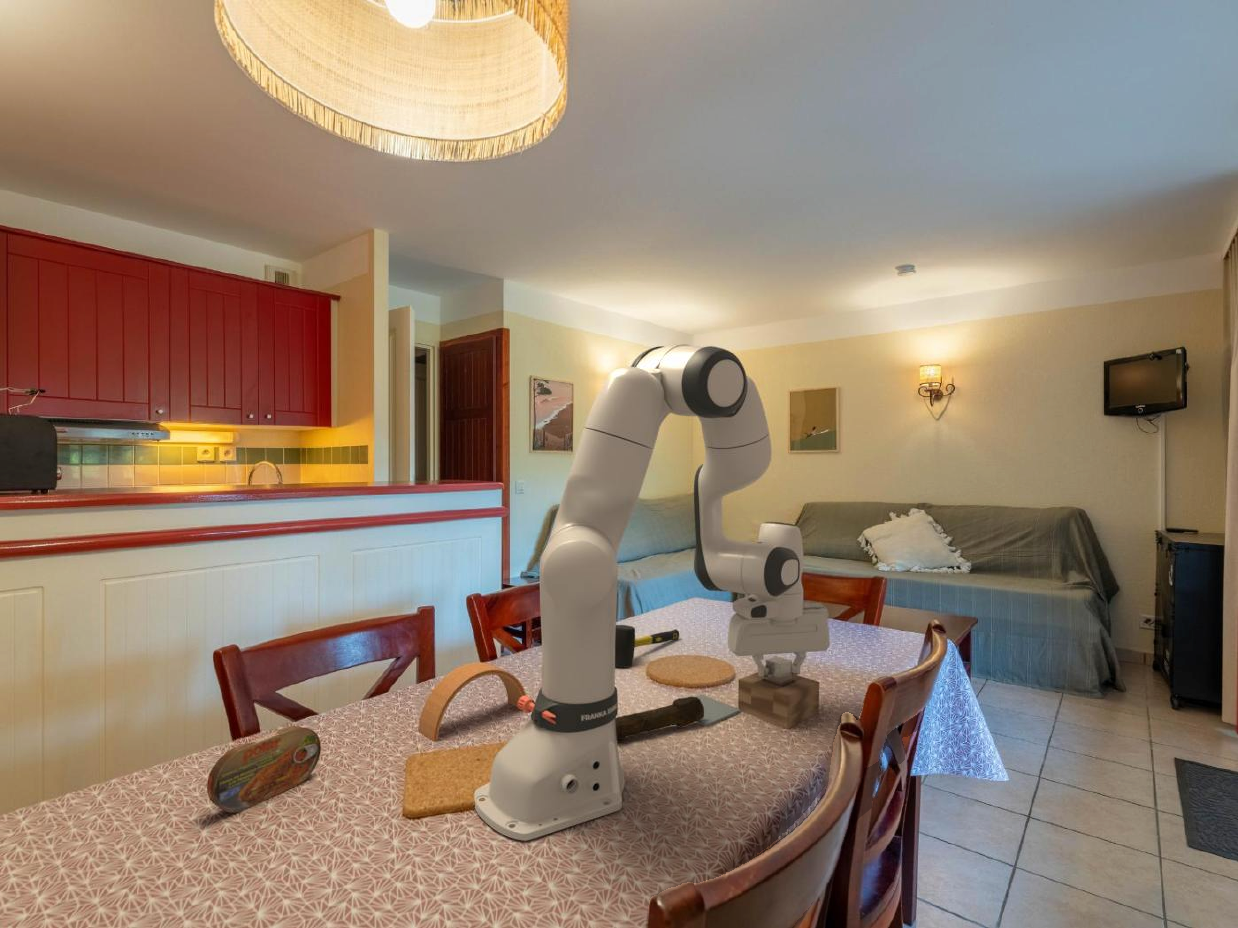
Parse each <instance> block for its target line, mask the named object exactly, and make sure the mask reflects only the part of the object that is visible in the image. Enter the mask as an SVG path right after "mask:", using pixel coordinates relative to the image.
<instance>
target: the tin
mask: <svg viewBox="0 0 1238 928" xmlns="http://www.w3.org/2000/svg"><path fill="white" fill-rule="evenodd" d="M321 745H322V744H321V740H320V737H319V735H318V733H316V731H314V730H312V729H311V728H309V727H302V726H298V725H296V726H295V725H292V726H286V727H284V728H282V729H279V730H276V731H274V732H271V733H269V734H266V735H263V736H262V737H258V738H255V739H253V740H250V741H248V742H245V743H243V744H240V745H237V746H235V747H233V748H231V749H229V750H228V751H226V752H225V753H224V754H223V755H221V756H220V757H219V759H218V760H217V761H216V762H214V765H213V766H212V767H211V770H210V772H209V775H208V777H207V778H208V779H207V784H206V786H207V787H206V789H207V790H206V792H207V796H208V797H209V800H210V801H211V803H212V804H214V805H215V806H216V807H218V808H219V809H221V810H222V811H224V812H227V813H234V814H235V813H240V812H244V811H247V810H249V809H251V808H252V806H253V807H254V805H255V806H257V805H259V804H261V803H263V802H265V801H268V800H269V799H271V797H272V798H274V797H276V796H277V795H280V794H282V793H284V792H286V791H289V790H291V789H293V788H295V787H296V786H298V785H301V784H302V783H304V781H305V780H307V779H308V778H309V777H310V775H311V774H312V773H313V772H314V770H315V769H316V767H317V765H318V762H319V759H320V756H321V751H322V746H321ZM258 803H259V804H258ZM256 804H257V805H256ZM248 808H249V809H248Z"/></svg>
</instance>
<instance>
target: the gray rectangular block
mask: <svg viewBox="0 0 1238 928" xmlns="http://www.w3.org/2000/svg"><path fill="white" fill-rule="evenodd" d="M792 663H793V660H791V659H787V658H784V657H781V656H777V655H776V656H773V657H770V658H767V659H765V666H766V667H767V668H769V672H768V677H766V682H768V683H771V684H774V685H777V686H780V687H785V686H787V685H789V684H792Z"/></svg>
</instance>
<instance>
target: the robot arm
mask: <svg viewBox="0 0 1238 928" xmlns="http://www.w3.org/2000/svg"><path fill="white" fill-rule="evenodd" d="M588 413H589V414H588V415H587V417H586V420H585V421H586V422H585V423H584V428H583V430H582V433H581V435H580V438H579V439H580V440H579V442H578V445H577V449H576V451H575V455H574V458H573V461H572V465H571V468H570V470H569V473H568V477H567V481H566V484H565V487H564V490H563V493H562V497H561V499H560V502H559V503H560V504H559V507H558V510H557V513H556V516H555V519H554V523H553V526H552V529H551V533H550V535H549V539H548V541H547V544H546V546H545V548H544V550H543V552H542V554H541V557H540V561H539V605H540V606H539V609H540V610H539V611H540V628H541V688H540V689H539V691H538V693H537V696H536V698H535V700H534V699H532V698H530V697H528V695H526V696H522V697H520V700H519V701H518V702H519V703H518V704H517V705H519V706H518V708H517V709H519V710H521V711H524V713H526V714H530V713H531V714H530V719H529V720H528V721H527V722H526V723H525V724H524V725H523V726H522V727H521V728H520V729H519V731H518V732H517V733H515V735H514V736H513V737H512V738H511V739H510V740H509V741H508V742H507V743H506V744H505V745H504V746H503V747H502V749H500V750H499V751H498V753H496V755H495V757H494V760H493V763H492V766H491V773H490V778H489V782H487V783H485V784H483V785H482V786H480V787H478V788H476V790H475V791H474V794H473V802H474V801H475V807H474V809H475V812H476V813H477V814H478V816H479V817H480V818H481V819H482V820H483V821H484V822H485V823H486V824H487V825H488V826H489V827H491V828H492V829H493V830H494V831H496V832H498V833H500V834H501V835H503V836H506V837H508V838H510V839H514V840H518V841H526V842H527V841H531V840H534V839H536V838H540V837H543V836H546V835H548V834H549V835H550V834H551V833H555V832H558V831H560V830H564V829H566V828H567V829H568V828H569V827H574V826H576V825H579V824H582V823H585V822H587V821H591V820H594V819H597V818H599V817H600V818H601V817H603V816H606V815H609V814H612V813H616V812H618V811H620V810H621V809H622V808H623V798H622V793H623V792H624V789H625V786H626V779H625V776H624V773H623V769H622V765H621V759H620V754H619V753H620V752H619V748H618V747H619V746H618V741H617V737H616V723H615V718H617V717H618V713H619V711H618V709H619V703H618V701H619V699H618V698H619V696H618V688H617V687H616V686H615V685H616V666H615V633H616V625H617V607H618V606H617V605H618V579H619V578H618V573H619V569H618V567H619V565H618V559H617V555H618V551H619V548H620V546H621V543H622V540H623V537H624V535H625V532H626V530H627V526H628V524H629V521H630V518H631V517H632V514H633V512H634V509H635V508H636V504H637V502H638V500H639V497H640V494H641V490H642V487H643V484H644V481H645V478H646V474H647V471H648V470H649V469H648V468H649V465H650V462H651V459H652V456H653V453H654V450H655V446H656V443H657V439H658V436H659V431H660V427H661V425H663V422H664V420H665V419H666V418H667V417H668V415H669V414H673V415H676V416H682V417H697V418H698V420H699V421H700V424H701V431H702V432H701V433H702V438H703V444H704V451H705V454H704V460H703V461H704V462H703V463H702V464H701V465H700V466H698V468H697V469H696V472H695V474H694V479H693V480H694V481H693V512H694V532H695V550H694V559H693V570H694V574H695V576H696V578H697V580H698V581H699V583H700V584H701V585H702V586H703V588H704V589H705V590H707V591H709V592H710V591H713V592H729V593H730V592H732V593H736V594H744V595H746V596H744V597H741V598H739V599H736V600H734V601H733V602H732V610H733V611H734V612H735V613H734V614H733V615H732V616H731V618H730V620H729V624H728V634H727V646H728V649H729V650H730V652H732V654H734V655H735V656H737V657H745V656H746V657H747V656H749V657H750V656H751V658H752V659H753V661H754V663H755V664H756V666H757V672H758V675H759V676H760V677H768V672H769V668H767V667H766V664H763V662H762V661H763V660H764V656H766V655H779V654H793V653H794V655H795V657H794V660H793V661H792V675H798V676H800V675H801V667H802V665H803V663H804V662H805V659H807V653H812V652H826V651H827V650H828V648H829V647H830V645H831V644H830V643H831V642H830V640H831V639H830V630H829V625H828V624H829V623H828V621H829V610H828V609H827V607H826V606H825V605H823V604H822V603H821V602H812V603H808V602H805V603H804V586H803V584H802V575H803V572H804V547H803V537H802V533H801V532H802V531H801V529H800V527H798V526H797V525H795V524H793V523H789V522H787V523H786V522H779V521H765V522H763V523H761V524H760V527H759V534H758V540H756V541H755V542H751V541H740V540H732V539H730V538H728V537H727V536H725V535H724V533H723V510H722V509H723V505H722V503H723V502H722V501H723V497H724V496H726V495H729V494H731V493H735V492H737V491H739V490H743V489H744V488H747V487H749V486H751V485H752V484H754V483H755V482H757V481H759V480H760V478H762V476H763V475H765V473H766V472H767V470H768V469H769V467H770V464H771V461H772V453H773V452H772V441H771V437H770V435H771V434H770V430H769V425H768V419H767V416H766V412H765V409H764V406H763V402H762V399H761V395H760V392H759V391H758V388H757V385H756V384H755V382H754V380H753V379H752V378H751V377H749V376H748V375H747V373H746V369H745V368H744V365H743V364H742V362H741V360H740V358H738V357H737V356H736V355H735V354H734V353H733V352H732V351H729V350H727V349H725V348H721V347H718V346H713V345H711V346H710V345H709V346H708V345H707V346H700V345H690V344H674V345H667V346H663V345H662V346H658V345H657V346H654V347H652V348H649V349H647V350H645V351H642V353H641V354H640V355H638V356H637V357H636V358H635V359H634V361H633V362H632V364H631V365H630V366H623V367H618V368H616V369H614V370H612V371H610V373H608V375H607V377H606V378H605V380H604V382H603V383H602V385H601V387H600V389H599V391H598V393H597V395H596V397H595V399H594V401H593V403H592V406H591V408H590V411H589V412H588ZM481 799H484V801H479V800H481Z"/></svg>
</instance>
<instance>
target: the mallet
mask: <svg viewBox="0 0 1238 928" xmlns="http://www.w3.org/2000/svg"><path fill="white" fill-rule="evenodd" d="M679 631H680V630H678V629H673V630H670V631H669V630H668V631H661V632H656V633H654V634H653V633H652V634H650V635H647V636H642V637H639V638H638V637H637V638H636V628H635V627H634V626H632V625H627V624H616V633H615V667H617V668H629V667H630V668H631V667H632V666H633V662H634V656H635V649H636V648H638V647H642V646H649V645H657V644H662V643H666V642H670V641H677V640H679V638H680V632H679Z"/></svg>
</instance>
